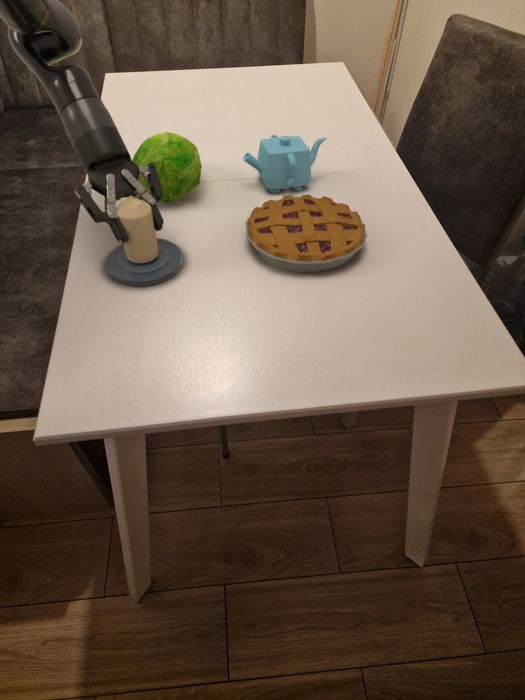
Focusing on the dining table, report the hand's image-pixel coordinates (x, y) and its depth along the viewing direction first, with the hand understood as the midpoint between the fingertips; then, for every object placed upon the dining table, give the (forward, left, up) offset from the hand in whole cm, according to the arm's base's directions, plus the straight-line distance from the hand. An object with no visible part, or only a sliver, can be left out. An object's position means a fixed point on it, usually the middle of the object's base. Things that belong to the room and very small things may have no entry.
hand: (143, 235), depth 79 cm
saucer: (-1, +1, -7) cm, 7 cm away
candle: (-1, +2, -5) cm, 5 cm away
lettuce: (+4, +28, -7) cm, 30 cm away
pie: (+28, +4, -7) cm, 29 cm away
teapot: (+28, +28, -7) cm, 41 cm away
